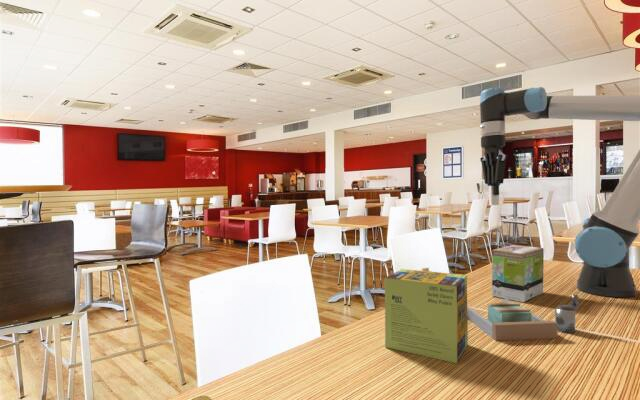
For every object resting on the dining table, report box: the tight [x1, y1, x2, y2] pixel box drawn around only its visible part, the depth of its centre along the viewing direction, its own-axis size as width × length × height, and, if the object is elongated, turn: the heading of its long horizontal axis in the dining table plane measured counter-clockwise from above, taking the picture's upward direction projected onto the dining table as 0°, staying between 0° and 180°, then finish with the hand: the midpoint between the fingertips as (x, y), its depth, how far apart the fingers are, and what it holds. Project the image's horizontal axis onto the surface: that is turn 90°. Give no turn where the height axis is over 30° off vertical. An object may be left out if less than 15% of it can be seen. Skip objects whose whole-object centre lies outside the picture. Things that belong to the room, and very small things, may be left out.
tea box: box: [491, 244, 545, 303], centre depth 119 cm, size 15×10×15 cm, turn 131°
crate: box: [487, 301, 533, 323], centre depth 92 cm, size 7×7×6 cm
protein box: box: [384, 268, 469, 364], centre depth 83 cm, size 10×15×16 cm
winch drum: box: [554, 294, 579, 334], centre depth 90 cm, size 5×4×8 cm
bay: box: [467, 298, 558, 341], centre depth 96 cm, size 14×22×4 cm, turn 2°
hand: (494, 204), depth 130 cm, fingers closed
